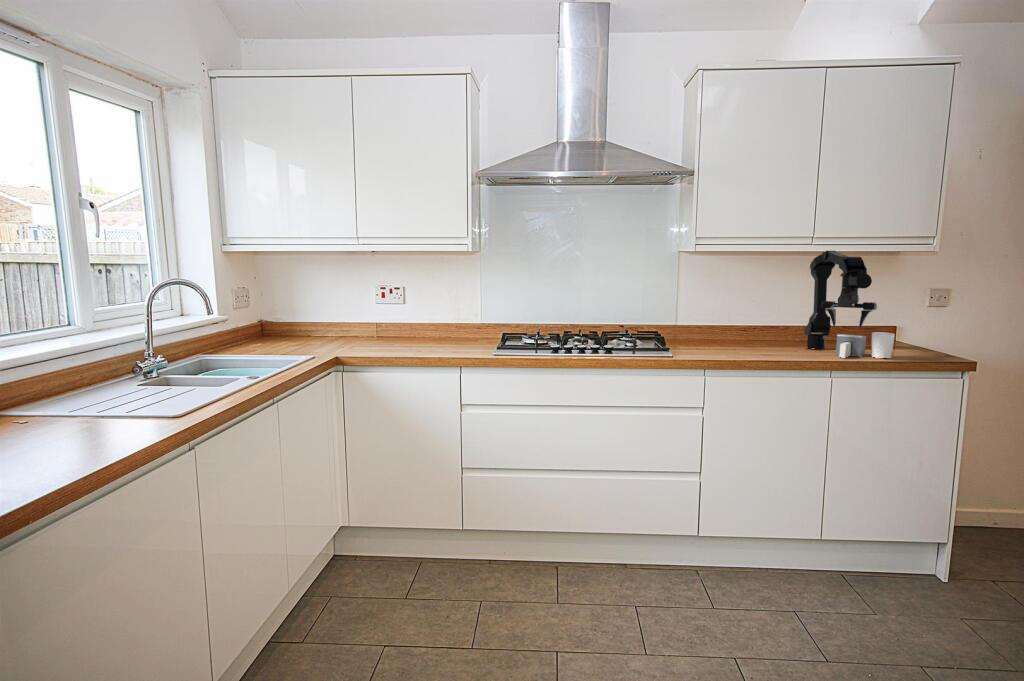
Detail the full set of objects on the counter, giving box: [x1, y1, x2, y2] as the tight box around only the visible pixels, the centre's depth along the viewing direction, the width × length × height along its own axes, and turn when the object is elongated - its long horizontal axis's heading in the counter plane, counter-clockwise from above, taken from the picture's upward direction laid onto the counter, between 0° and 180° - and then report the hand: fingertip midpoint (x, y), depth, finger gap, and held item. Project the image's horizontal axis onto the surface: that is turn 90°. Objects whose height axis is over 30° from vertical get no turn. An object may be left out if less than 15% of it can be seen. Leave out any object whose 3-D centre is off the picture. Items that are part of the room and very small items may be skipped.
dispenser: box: [835, 333, 867, 358], centre depth 243 cm, size 8×9×9 cm
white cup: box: [870, 331, 896, 359], centre depth 236 cm, size 8×8×10 cm
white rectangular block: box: [838, 341, 853, 359], centre depth 239 cm, size 15×2×6 cm, turn 137°
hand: (847, 326), depth 234 cm, fingers open, 9 cm apart
